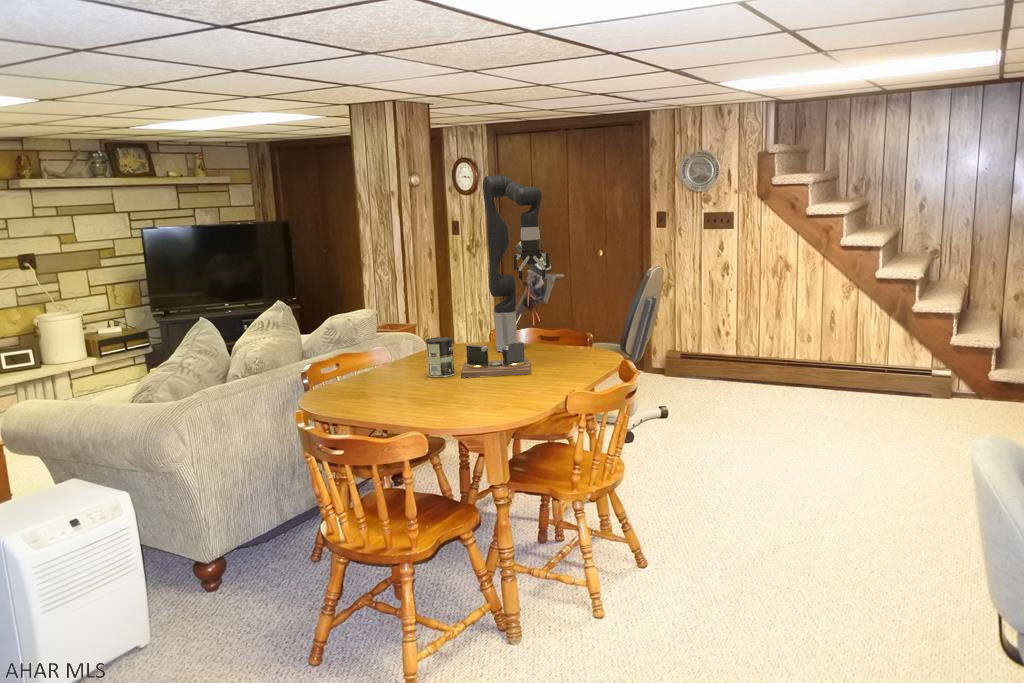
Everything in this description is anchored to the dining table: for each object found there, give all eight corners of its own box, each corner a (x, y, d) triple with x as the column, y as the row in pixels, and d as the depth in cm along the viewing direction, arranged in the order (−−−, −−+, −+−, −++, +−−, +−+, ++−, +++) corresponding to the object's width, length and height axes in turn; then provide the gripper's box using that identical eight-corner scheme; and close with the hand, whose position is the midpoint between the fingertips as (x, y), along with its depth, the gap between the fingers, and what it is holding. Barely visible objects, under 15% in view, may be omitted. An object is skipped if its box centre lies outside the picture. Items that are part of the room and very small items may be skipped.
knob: (515, 361, 320) (514, 341, 319) (529, 363, 314) (528, 343, 313) (498, 365, 314) (497, 344, 313) (512, 367, 308) (510, 346, 307)
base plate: (464, 366, 326) (464, 359, 325) (529, 363, 325) (528, 355, 325) (461, 378, 304) (460, 370, 303) (530, 374, 304) (530, 366, 303)
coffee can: (455, 371, 317) (453, 336, 315) (454, 377, 307) (451, 340, 304) (429, 373, 317) (426, 337, 315) (426, 378, 307) (424, 342, 305)
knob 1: (462, 367, 314) (461, 346, 313) (476, 363, 320) (475, 343, 319) (479, 369, 308) (478, 348, 307) (493, 365, 314) (492, 345, 313)
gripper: (547, 237, 324) (549, 277, 326) (512, 239, 324) (514, 279, 327) (548, 238, 316) (550, 279, 319) (512, 240, 317) (514, 281, 319)
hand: (532, 279), depth 323 cm, fingers open, 8 cm apart
